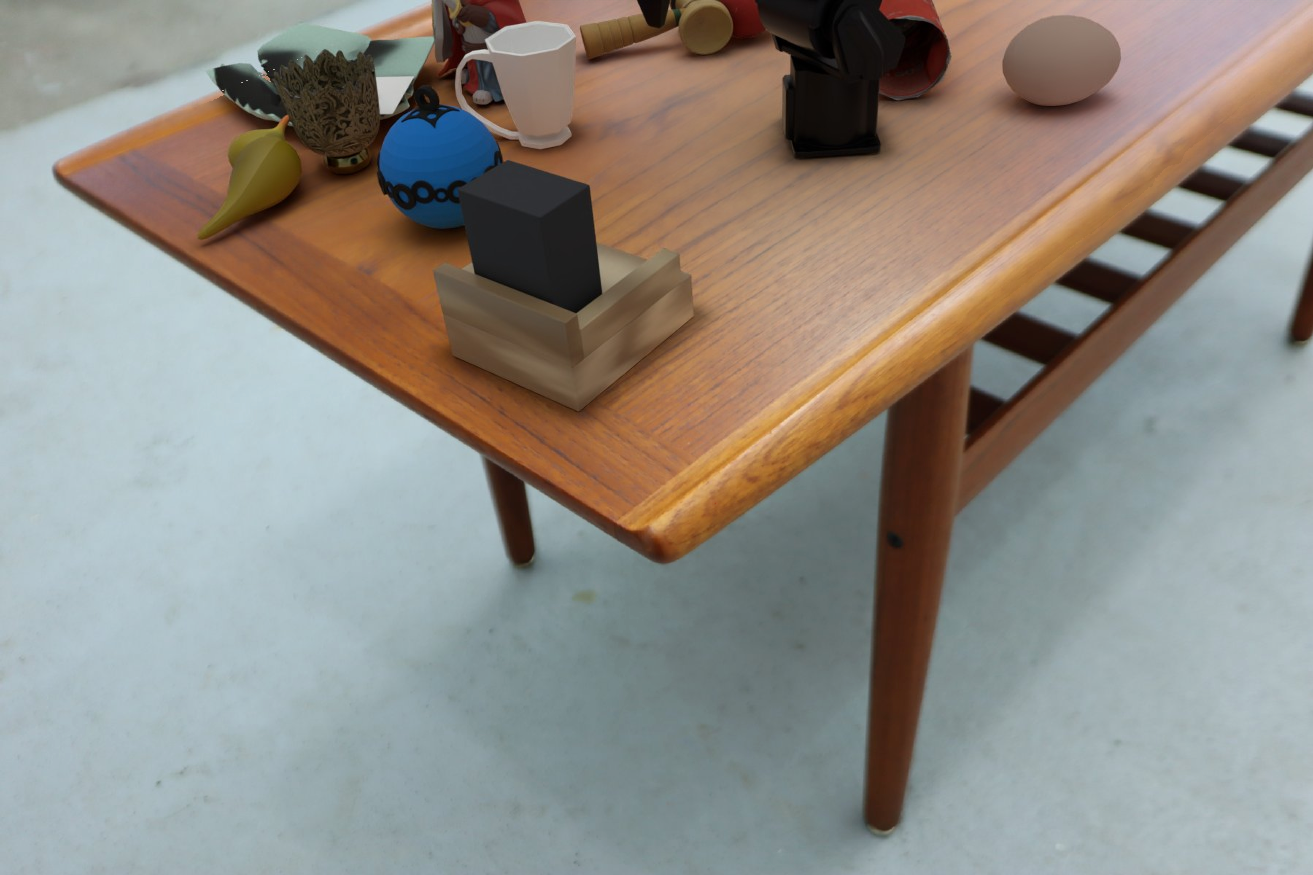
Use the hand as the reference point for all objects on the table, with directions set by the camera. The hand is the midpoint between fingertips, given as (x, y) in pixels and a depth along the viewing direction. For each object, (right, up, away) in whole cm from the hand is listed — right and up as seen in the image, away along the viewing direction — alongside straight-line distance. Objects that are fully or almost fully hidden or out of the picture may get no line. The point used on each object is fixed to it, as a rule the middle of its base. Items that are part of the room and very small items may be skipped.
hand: (698, 3), depth 71 cm
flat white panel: (-26, 0, +19) cm, 32 cm away
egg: (+24, 0, +12) cm, 27 cm away
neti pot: (-29, -8, +9) cm, 32 cm away
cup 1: (-27, -7, +15) cm, 32 cm away
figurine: (-18, +3, +25) cm, 31 cm away
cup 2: (-13, -4, +17) cm, 22 cm away
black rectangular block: (-9, -21, -8) cm, 25 cm away
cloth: (-33, +4, +24) cm, 41 cm away
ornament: (-17, -13, +7) cm, 23 cm away
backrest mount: (-8, -22, -5) cm, 24 cm away
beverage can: (+17, +3, +22) cm, 28 cm away
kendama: (0, +7, +29) cm, 30 cm away
